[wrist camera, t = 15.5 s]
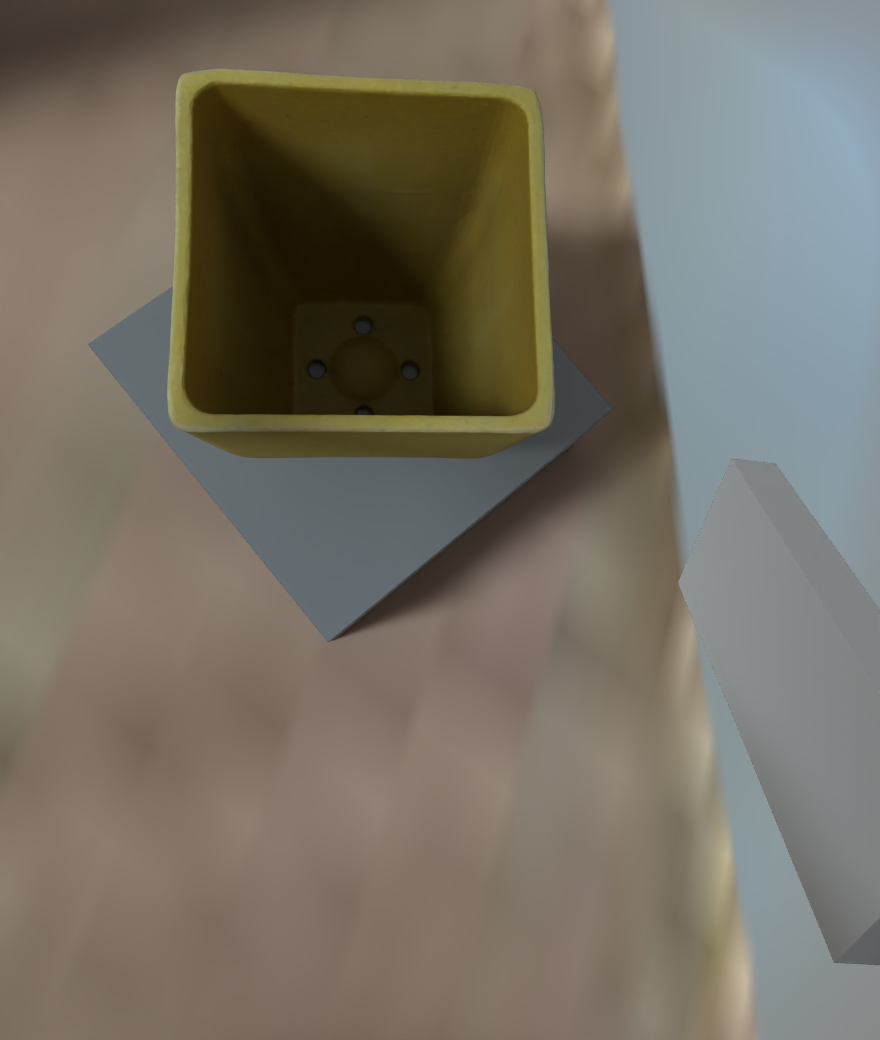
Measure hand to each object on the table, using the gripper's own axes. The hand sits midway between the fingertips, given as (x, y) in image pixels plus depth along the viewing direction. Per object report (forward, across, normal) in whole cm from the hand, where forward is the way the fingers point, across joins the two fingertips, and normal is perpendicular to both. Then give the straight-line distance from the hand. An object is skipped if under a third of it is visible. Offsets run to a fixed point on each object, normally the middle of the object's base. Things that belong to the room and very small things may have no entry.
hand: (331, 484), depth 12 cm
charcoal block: (+17, 0, -8) cm, 19 cm away
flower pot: (+14, 0, -5) cm, 14 cm away
